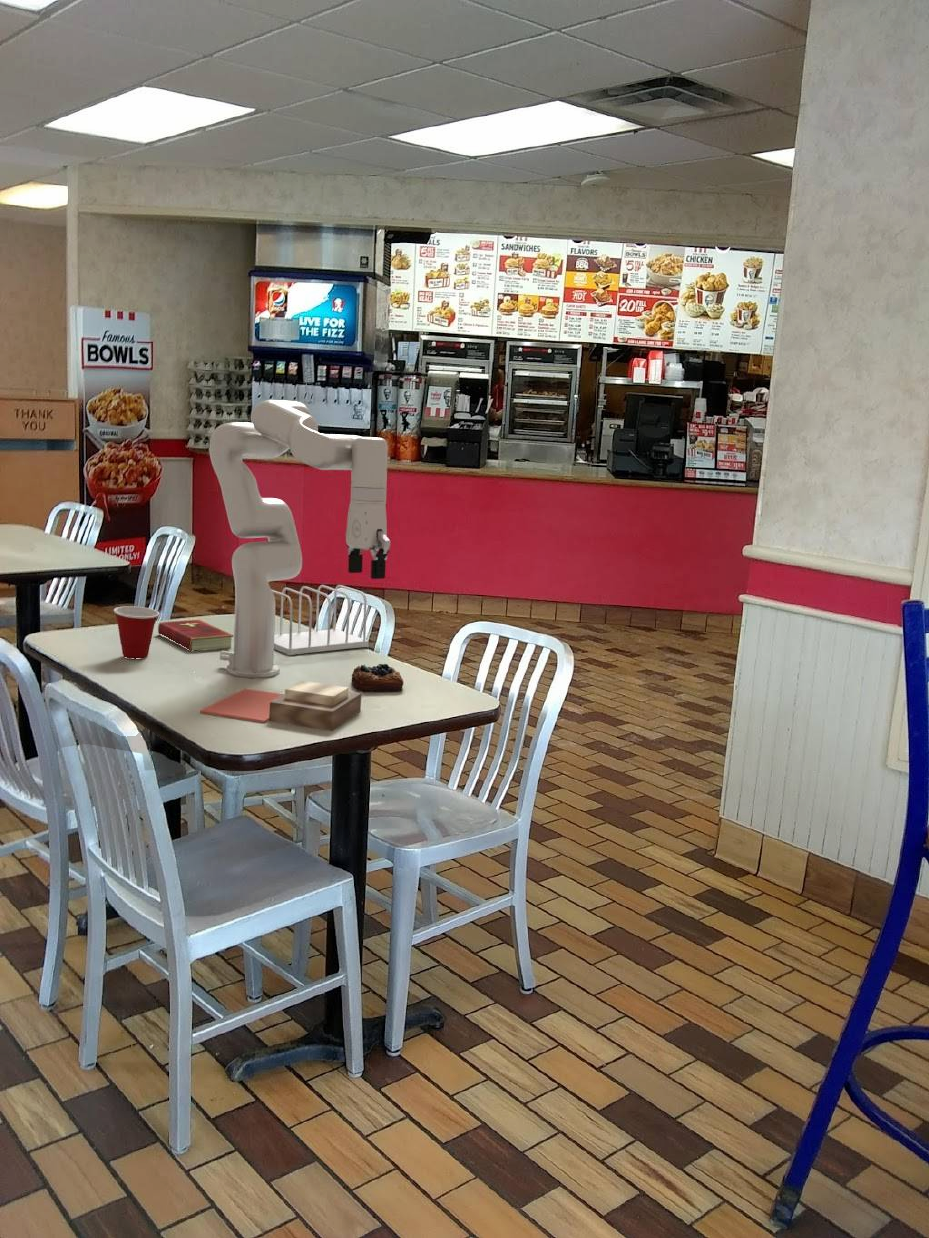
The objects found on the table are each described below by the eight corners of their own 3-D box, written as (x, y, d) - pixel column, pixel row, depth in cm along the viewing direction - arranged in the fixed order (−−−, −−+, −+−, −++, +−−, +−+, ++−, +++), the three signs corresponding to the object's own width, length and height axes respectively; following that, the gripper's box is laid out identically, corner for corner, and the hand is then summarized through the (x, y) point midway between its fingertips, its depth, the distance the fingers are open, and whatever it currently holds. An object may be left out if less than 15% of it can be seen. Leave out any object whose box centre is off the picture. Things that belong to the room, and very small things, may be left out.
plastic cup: (147, 664, 259) (147, 615, 257) (105, 659, 261) (105, 611, 259) (166, 654, 270) (167, 608, 268) (126, 650, 272) (126, 604, 269)
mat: (200, 712, 224) (200, 710, 224) (244, 690, 243) (245, 688, 243) (264, 722, 220) (264, 720, 220) (304, 699, 239) (305, 697, 239)
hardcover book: (190, 653, 275) (190, 637, 274) (157, 636, 291) (158, 621, 290) (233, 649, 282) (233, 634, 282) (199, 633, 298) (199, 618, 298)
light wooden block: (284, 698, 224) (285, 689, 224) (300, 689, 232) (301, 680, 232) (333, 705, 222) (333, 696, 221) (348, 696, 229) (348, 687, 229)
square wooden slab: (269, 720, 222) (269, 701, 221) (301, 701, 237) (302, 684, 236) (331, 730, 218) (332, 711, 217) (360, 710, 233) (361, 693, 233)
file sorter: (335, 635, 307) (338, 581, 304) (368, 648, 294) (372, 592, 291) (256, 642, 291) (258, 586, 288) (288, 656, 278) (290, 597, 275)
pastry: (346, 681, 257) (348, 658, 256) (394, 681, 261) (396, 657, 260) (357, 694, 247) (359, 669, 246) (407, 693, 251) (409, 669, 250)
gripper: (333, 493, 232) (331, 571, 235) (373, 498, 218) (371, 581, 221) (363, 493, 237) (361, 569, 239) (405, 499, 223) (402, 580, 226)
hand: (366, 575), depth 230 cm, fingers open, 9 cm apart
